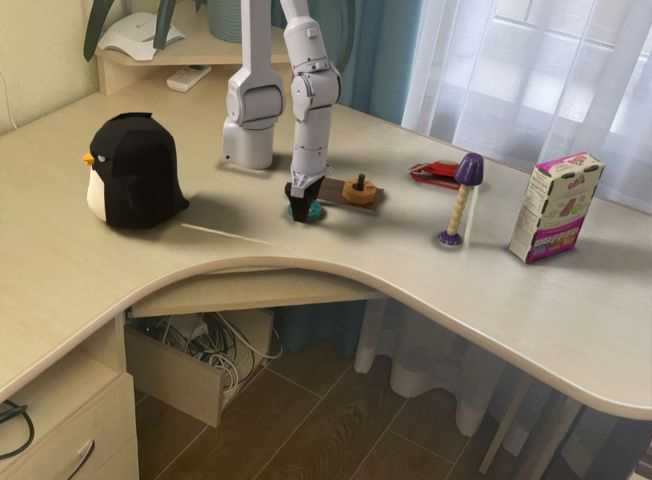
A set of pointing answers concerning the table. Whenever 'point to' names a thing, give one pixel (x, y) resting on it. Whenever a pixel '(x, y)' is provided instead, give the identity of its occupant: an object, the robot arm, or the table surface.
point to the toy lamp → (463, 194)
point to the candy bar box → (555, 206)
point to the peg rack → (334, 193)
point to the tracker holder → (435, 171)
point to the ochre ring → (359, 192)
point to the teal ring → (312, 214)
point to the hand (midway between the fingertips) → (304, 212)
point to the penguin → (134, 173)
